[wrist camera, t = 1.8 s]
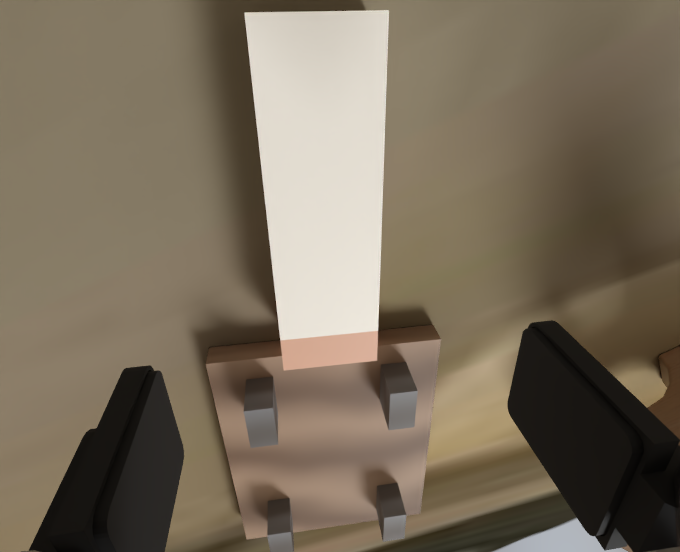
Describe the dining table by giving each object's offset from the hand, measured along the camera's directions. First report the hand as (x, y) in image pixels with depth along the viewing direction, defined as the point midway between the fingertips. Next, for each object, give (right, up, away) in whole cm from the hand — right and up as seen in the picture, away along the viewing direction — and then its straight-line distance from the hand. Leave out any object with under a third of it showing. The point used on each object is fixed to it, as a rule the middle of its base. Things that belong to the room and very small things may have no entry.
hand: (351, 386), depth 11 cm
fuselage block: (-1, +7, +11) cm, 13 cm away
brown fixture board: (-1, -9, +20) cm, 22 cm away
